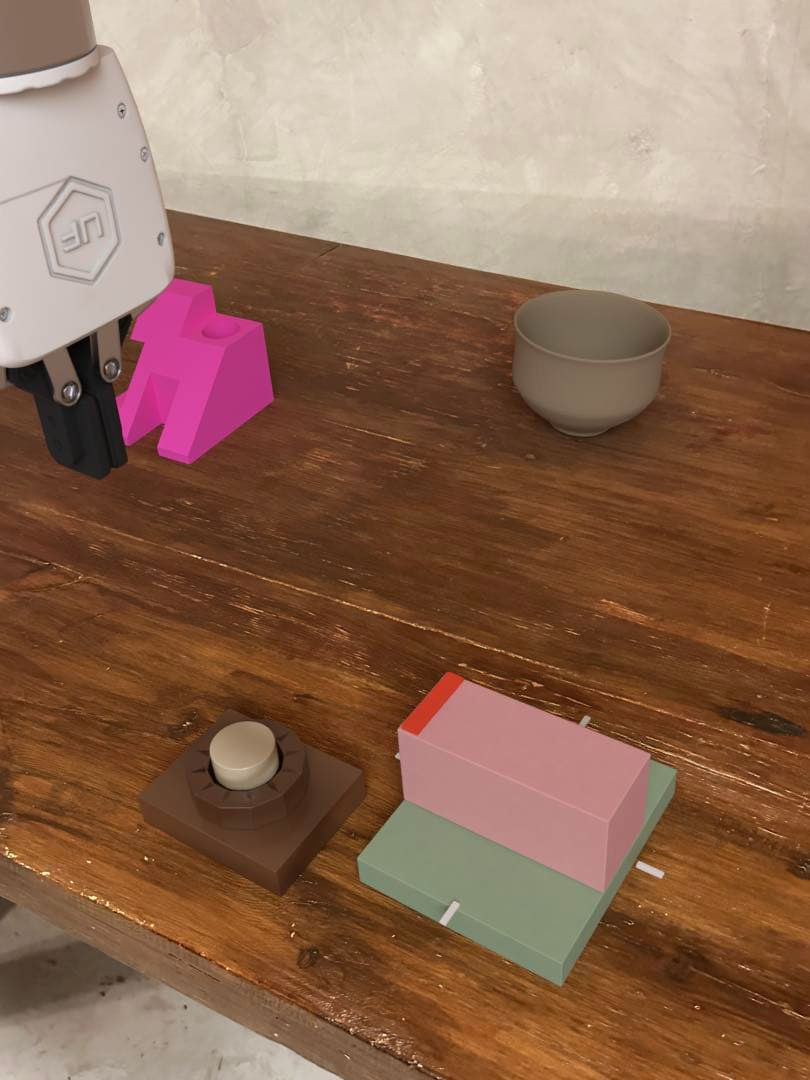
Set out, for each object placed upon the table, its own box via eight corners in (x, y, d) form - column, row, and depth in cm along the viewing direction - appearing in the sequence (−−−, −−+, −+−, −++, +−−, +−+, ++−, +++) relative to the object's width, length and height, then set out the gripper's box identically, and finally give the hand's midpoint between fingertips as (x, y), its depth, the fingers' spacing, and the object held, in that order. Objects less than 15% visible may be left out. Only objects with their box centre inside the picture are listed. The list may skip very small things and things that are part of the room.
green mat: (590, 1027, 53) (592, 1001, 51) (315, 879, 60) (311, 854, 59) (717, 795, 63) (721, 768, 62) (469, 694, 71) (469, 669, 70)
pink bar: (644, 824, 59) (651, 749, 56) (603, 894, 56) (608, 818, 53) (450, 741, 65) (446, 668, 62) (403, 799, 62) (396, 726, 58)
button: (251, 801, 60) (246, 779, 59) (200, 775, 62) (195, 753, 61) (292, 757, 63) (288, 735, 62) (242, 733, 64) (238, 712, 63)
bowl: (661, 469, 90) (671, 357, 84) (503, 460, 92) (502, 350, 86) (664, 392, 100) (673, 286, 94) (521, 385, 102) (521, 282, 96)
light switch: (280, 898, 60) (270, 850, 57) (144, 821, 64) (129, 774, 62) (367, 796, 65) (361, 748, 62) (234, 732, 70) (224, 686, 67)
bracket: (187, 377, 108) (167, 276, 101) (274, 400, 103) (258, 295, 97) (100, 437, 100) (72, 331, 93) (189, 464, 95) (166, 355, 89)
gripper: (-133, 92, 33) (18, 578, 44) (204, -5, 43) (260, 412, 54) (-273, 66, 37) (-100, 522, 48) (69, -18, 47) (147, 376, 58)
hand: (91, 463), depth 51 cm, fingers closed
